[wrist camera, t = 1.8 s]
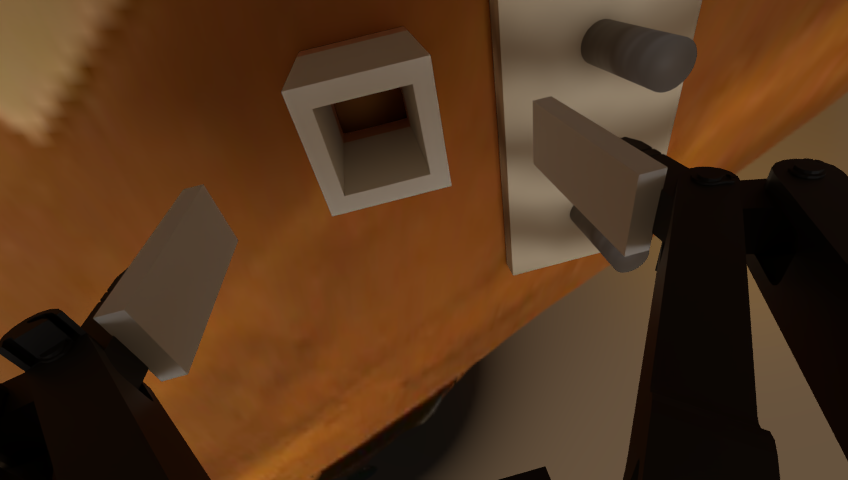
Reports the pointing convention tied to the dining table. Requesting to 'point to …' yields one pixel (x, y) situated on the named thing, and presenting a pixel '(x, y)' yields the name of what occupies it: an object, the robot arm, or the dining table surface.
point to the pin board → (581, 104)
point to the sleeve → (375, 146)
